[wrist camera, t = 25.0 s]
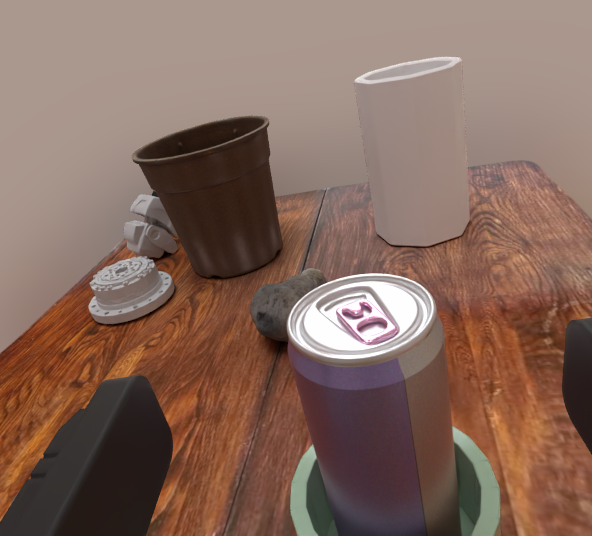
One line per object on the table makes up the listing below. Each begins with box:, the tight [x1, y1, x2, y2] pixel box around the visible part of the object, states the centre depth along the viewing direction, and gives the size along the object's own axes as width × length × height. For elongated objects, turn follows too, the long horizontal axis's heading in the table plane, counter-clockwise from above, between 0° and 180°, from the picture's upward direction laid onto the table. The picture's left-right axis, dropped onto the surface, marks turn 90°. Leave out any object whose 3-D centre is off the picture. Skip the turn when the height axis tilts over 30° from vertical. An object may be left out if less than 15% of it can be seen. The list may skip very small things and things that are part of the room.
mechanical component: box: [89, 256, 175, 324], centre depth 57 cm, size 10×4×10 cm
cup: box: [354, 57, 470, 247], centre depth 54 cm, size 11×11×18 cm
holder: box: [290, 426, 501, 536], centre depth 24 cm, size 10×10×6 cm
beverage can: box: [287, 274, 462, 536], centre depth 21 cm, size 6×6×15 cm
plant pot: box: [132, 116, 283, 278], centre depth 59 cm, size 16×16×16 cm
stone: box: [250, 268, 327, 342], centre depth 45 cm, size 10×5×8 cm
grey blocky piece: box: [124, 190, 178, 258], centre depth 68 cm, size 6×7×10 cm
